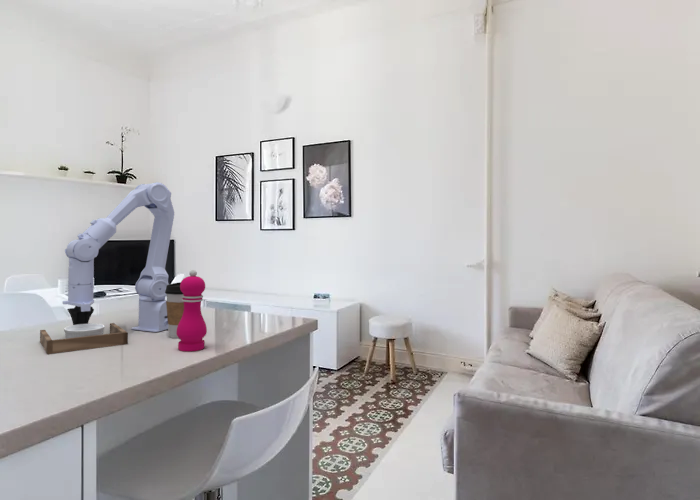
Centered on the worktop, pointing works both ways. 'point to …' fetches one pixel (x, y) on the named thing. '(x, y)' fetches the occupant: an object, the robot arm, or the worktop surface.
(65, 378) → the worktop surface
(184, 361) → the worktop surface
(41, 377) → the worktop surface
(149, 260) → the robot arm
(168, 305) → the coffee cup
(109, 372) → the worktop surface
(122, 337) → the box
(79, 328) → the ramekin
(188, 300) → the pepper mill
